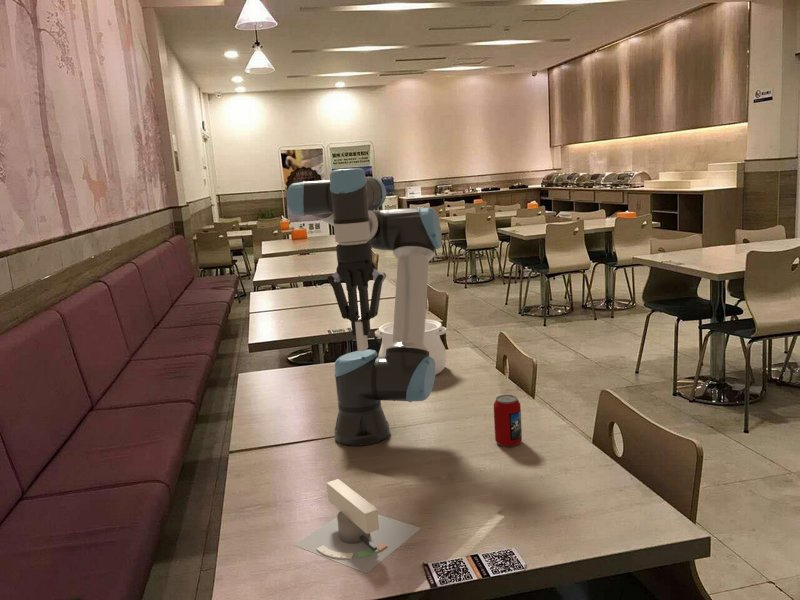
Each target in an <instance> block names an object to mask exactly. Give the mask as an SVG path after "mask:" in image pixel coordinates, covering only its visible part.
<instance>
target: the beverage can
mask: <svg viewBox="0 0 800 600" xmlns="http://www.w3.org/2000/svg"><path fill="white" fill-rule="evenodd" d="M521 414H522V410H521V402H520V401H519V399H518V397H517V396H516V395H513V394H502V395H497V396H496V398H495V401H494V403H493V419H494V421H493V422H494V423H493V424H494V438H495V439H494V440H495V442H496V444H498V445H500V446H502V447H506V448H507V447H508V448H509V447H511V448H512V447H515V446H517V445H519V444H520V443H522V441H523V436H522V435H523V434H522V433H523V432H522V430H523V429H522V415H521Z"/></svg>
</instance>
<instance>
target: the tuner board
mask: <svg viewBox="0 0 800 600" xmlns="http://www.w3.org/2000/svg"><path fill="white" fill-rule="evenodd" d="M378 521H379V529H378V530H376V531H373V532H371V533H370V536H369V538H368V540H370V541H371V542H372V543H373V544H374V545H375V546H376V547H377V550H375V551H373V550H372V549H371V548H370V547H368V546H367V545H366V544H365V543H364V542H360V543H356V544H348V543H344V542H342V541H341V540H340V538H339V530H338V520H337V516H335V517H334V518H332V519H331V520H330V521H328V522H326V523H325V524H323V525H321V527H319V528H318V529H316V530H315V531H313V532H311V533H310V534H309V535H307V536H306V537H304V538H302V539H301V540H300V541H298V542H297V543H296V544H294V545H293V546H295V547H297V548H300V549H302V550H306V551H307V552H311V553H313V554H315V555H317V556H320V557H323V558H325V559H329V560H331V561H334V562H336V563H338V564H341V565H344V566H346V567H349V568H351V569H354V570H357V571H359V572H362V573H364V574H368V573H369V572H370V571H371V570H373V569H374V568H376V566H378V565H379V564H380V563H381V562H383V561H384V560H385V559H386V558H388V557H389V556H390V555H391V554H393V552H394V551H396V550H397V549H398V548H400V547H401V546H402V545H403V544H405V543H406V542H407V541H408V540H410V539H411V538H412V537H413V536H415V535H416V534H417V533H418V532H419V531H421V529H422V527H420V526H416V525H413V524H410V523H407V522H403V521H400V520H397V519H394V518H390V517H389V516H388V517H387V516H384V515H382V514H378Z"/></svg>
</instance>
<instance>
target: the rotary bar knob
mask: <svg viewBox="0 0 800 600" xmlns="http://www.w3.org/2000/svg"><path fill="white" fill-rule="evenodd" d="M326 488H327V489H326V490H327V500H328V502H329V503H330V504H331V505H333V507H335V508H336V509H337V510H338V513H337V515H336V517H337V520H338V530H339V538H340V540H341V541H342V542H344V543H348V544H356V543H360V542H364V543H365V544H366V545H367V546H368V547H370V548H371V549H372V550H373V551H375V550H377V547H376V546H375V545H374V544H373V543H372V542H371V541H370V540H368V538H369V536H370V533H371V532H373V531H376V530H378V529H379V521H378V515H379V512H378V511H379V510H378V508H377V507H376V506H374V505H373V504H372V503H370V502H369V501H367V499H365V498H364V497H362V496H361V495H360V494H359V493H358V492H356V491H355V490H353V489H352V488H351V487H349V485H347V484H345V483H344V482H343V481H342V480H340V479H339V478H336V479H334V480H331V481H328V482H326Z"/></svg>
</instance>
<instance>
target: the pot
mask: <svg viewBox="0 0 800 600" xmlns="http://www.w3.org/2000/svg"><path fill="white" fill-rule="evenodd" d="M393 325H394V321H392V322H386V323H385V324H382V325H380V326H379V328H378V329H377V330H375V331H374V335H375V337H377V338H381V339H382V340H381V345H380V349H379V352H378V355H377V357H385V356H386V348H388V347H389V346H390V345H391V344H392V339H393ZM446 333H447V328H446V327H445V326H442V322H440V321H437V320H434V319H426V318H425V336H424V346H425V347H426V348H427V349H428V350H429V356H430V357H432V358H433V359H434V361H435V370H436V372H435V376H436V375H439V374H440V373H441V372H442V371H443V370H444V369H445V367H446V364H447V351H446V347H445V345H444V343H443V341H442V339H441V335H445V334H446Z"/></svg>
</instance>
